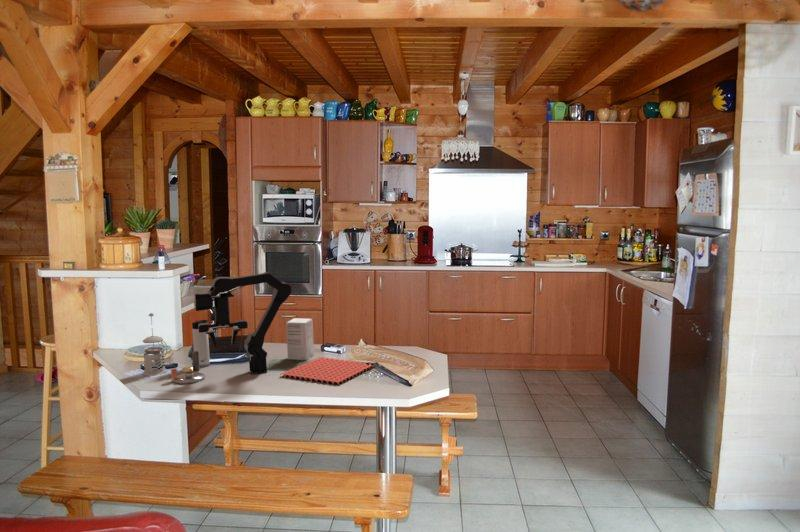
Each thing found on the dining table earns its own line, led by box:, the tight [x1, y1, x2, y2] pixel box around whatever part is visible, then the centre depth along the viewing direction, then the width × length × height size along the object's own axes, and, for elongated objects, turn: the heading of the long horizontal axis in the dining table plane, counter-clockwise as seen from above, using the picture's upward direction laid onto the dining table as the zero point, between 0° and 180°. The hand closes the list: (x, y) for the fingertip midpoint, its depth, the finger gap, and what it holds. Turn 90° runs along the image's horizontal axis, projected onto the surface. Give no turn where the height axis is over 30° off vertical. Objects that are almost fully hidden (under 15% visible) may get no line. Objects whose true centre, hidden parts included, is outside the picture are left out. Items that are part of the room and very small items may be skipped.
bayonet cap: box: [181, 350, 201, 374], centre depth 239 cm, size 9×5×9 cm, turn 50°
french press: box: [142, 312, 168, 377], centre depth 252 cm, size 10×12×25 cm
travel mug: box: [191, 319, 211, 368], centre depth 260 cm, size 6×7×20 cm
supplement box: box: [285, 317, 315, 361], centre depth 271 cm, size 10×9×17 cm
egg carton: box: [279, 356, 372, 387], centre depth 247 cm, size 28×28×2 cm
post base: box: [170, 367, 206, 385], centre depth 241 cm, size 12×12×5 cm
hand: (224, 346), depth 244 cm, fingers open, 6 cm apart
